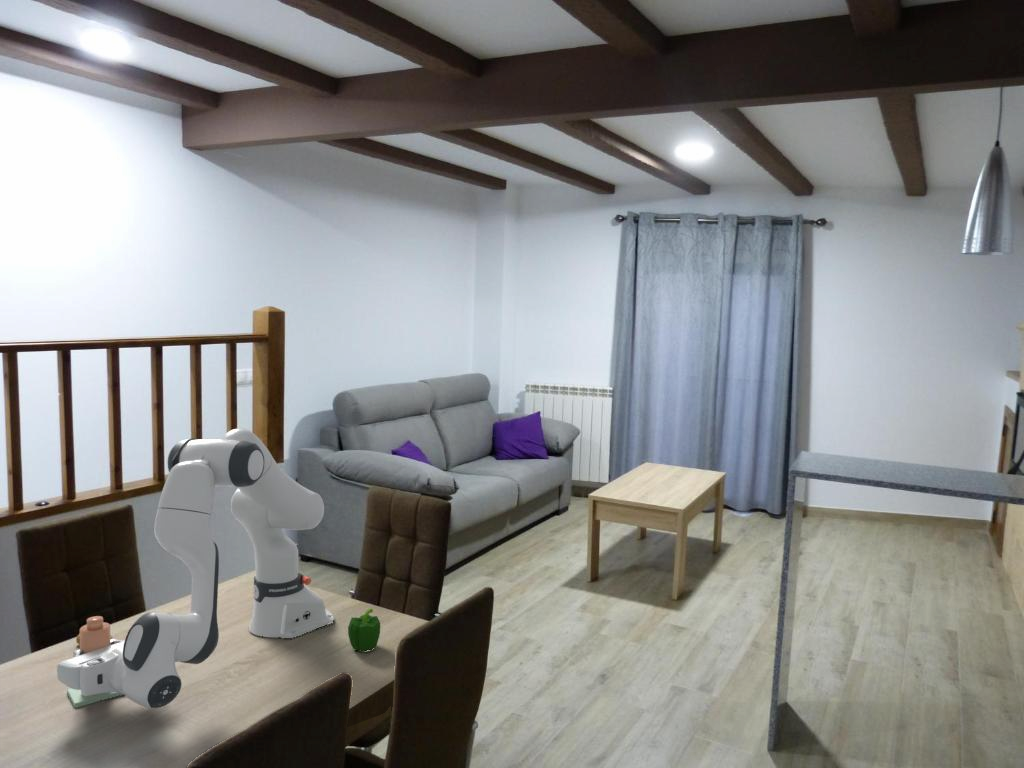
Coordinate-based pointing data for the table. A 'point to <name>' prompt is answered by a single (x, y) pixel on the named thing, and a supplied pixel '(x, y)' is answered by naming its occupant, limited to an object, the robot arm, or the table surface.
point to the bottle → (94, 634)
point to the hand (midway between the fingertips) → (93, 648)
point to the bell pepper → (364, 631)
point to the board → (88, 697)
